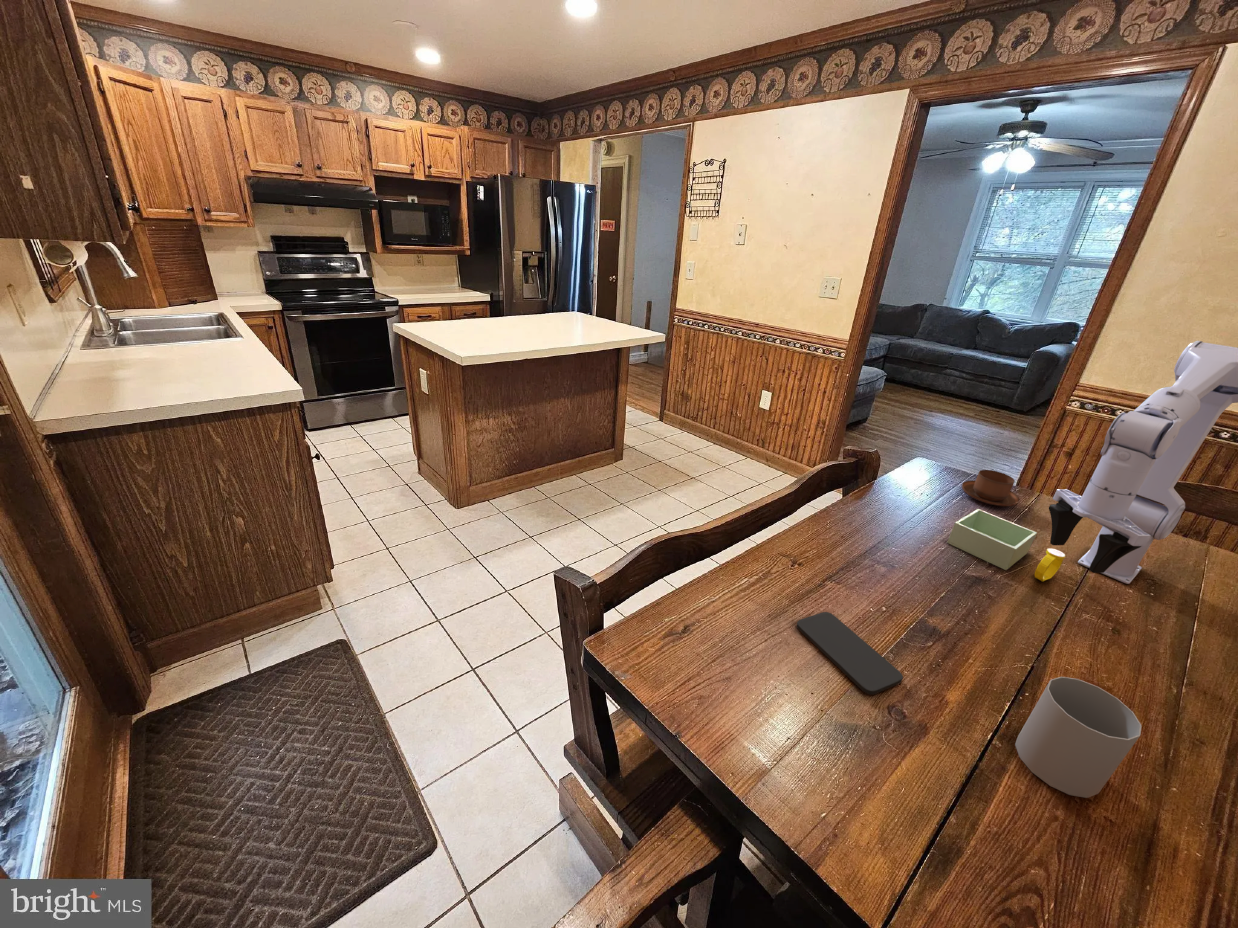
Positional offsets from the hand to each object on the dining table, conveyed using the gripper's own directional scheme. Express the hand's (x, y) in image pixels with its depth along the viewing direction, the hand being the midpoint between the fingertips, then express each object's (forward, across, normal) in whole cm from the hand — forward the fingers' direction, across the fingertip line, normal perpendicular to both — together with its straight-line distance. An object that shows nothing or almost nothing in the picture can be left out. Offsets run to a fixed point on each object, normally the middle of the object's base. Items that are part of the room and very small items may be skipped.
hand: (1075, 557), depth 87 cm
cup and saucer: (+10, -38, +17) cm, 43 cm away
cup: (+10, +29, -26) cm, 40 cm away
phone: (+10, +10, -44) cm, 46 cm away
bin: (+10, -17, +1) cm, 19 cm away
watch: (+10, -7, +4) cm, 13 cm away
